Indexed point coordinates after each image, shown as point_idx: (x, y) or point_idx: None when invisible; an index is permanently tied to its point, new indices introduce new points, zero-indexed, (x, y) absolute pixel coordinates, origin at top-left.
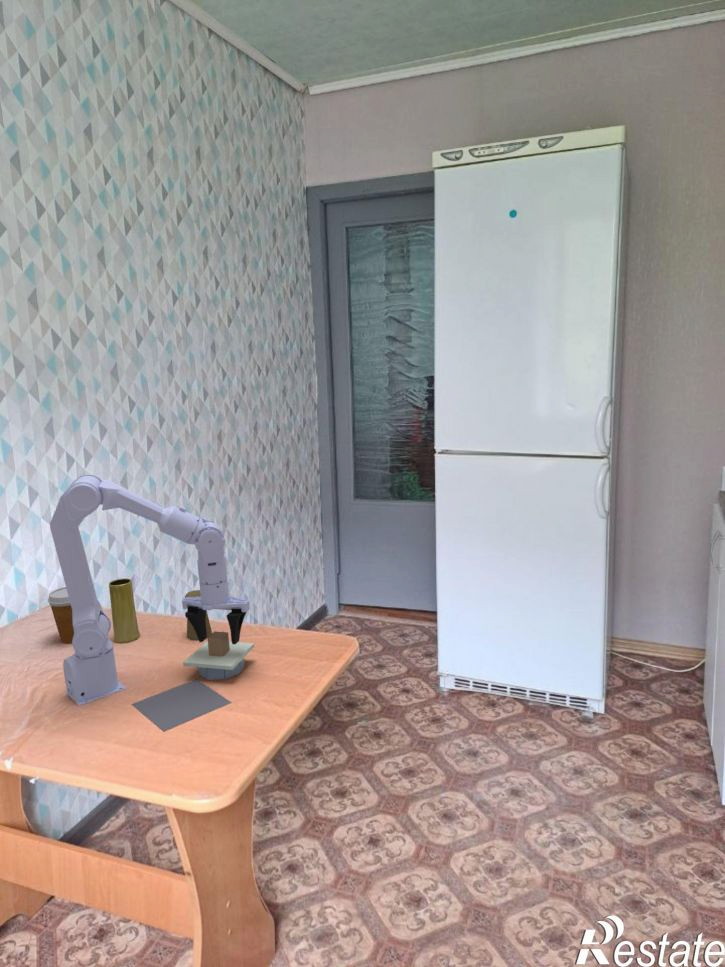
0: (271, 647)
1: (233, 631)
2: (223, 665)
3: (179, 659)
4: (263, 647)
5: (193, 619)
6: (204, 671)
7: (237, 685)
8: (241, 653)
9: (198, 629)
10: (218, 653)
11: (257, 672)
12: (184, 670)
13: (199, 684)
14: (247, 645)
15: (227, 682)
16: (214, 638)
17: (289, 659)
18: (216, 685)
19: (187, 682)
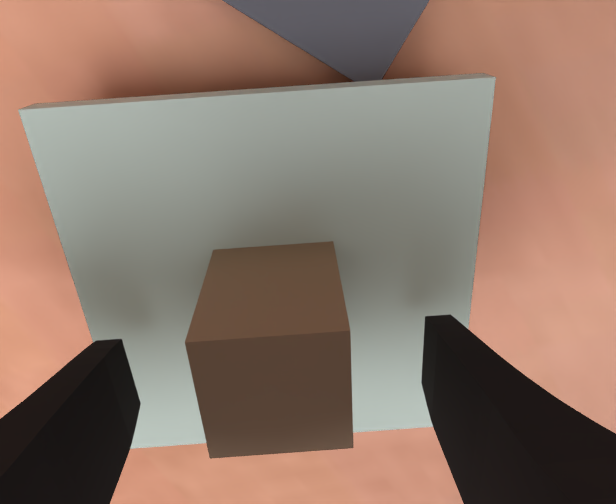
0: (177, 486)
1: (6, 430)
2: (101, 107)
3: (594, 299)
4: (215, 479)
5: (612, 495)
6: None
7: (70, 97)
8: (107, 318)
9: (484, 392)
10: (248, 257)
11: (68, 269)
12: (512, 195)
13: (309, 20)
14: (149, 418)
15: None
16: (266, 333)
17: None
18: (205, 63)
19: (411, 29)
